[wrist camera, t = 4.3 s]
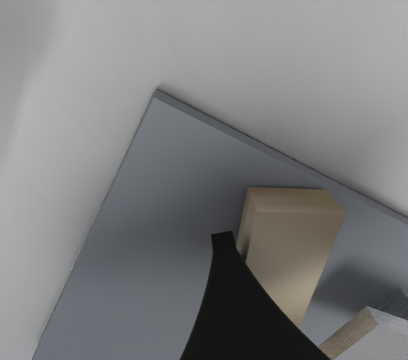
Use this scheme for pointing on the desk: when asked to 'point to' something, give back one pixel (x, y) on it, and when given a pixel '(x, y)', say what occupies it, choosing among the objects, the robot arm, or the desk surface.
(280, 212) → the tan latch lever
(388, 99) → the desk surface
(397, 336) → the keeper
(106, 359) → the base plate
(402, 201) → the desk surface
